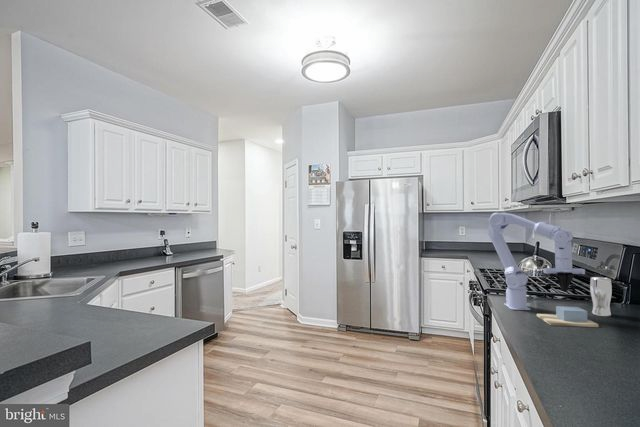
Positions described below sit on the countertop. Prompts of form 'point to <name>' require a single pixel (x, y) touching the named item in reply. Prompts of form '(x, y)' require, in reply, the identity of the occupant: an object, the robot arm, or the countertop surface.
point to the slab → (571, 313)
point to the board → (556, 321)
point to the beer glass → (601, 295)
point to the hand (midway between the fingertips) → (564, 291)
